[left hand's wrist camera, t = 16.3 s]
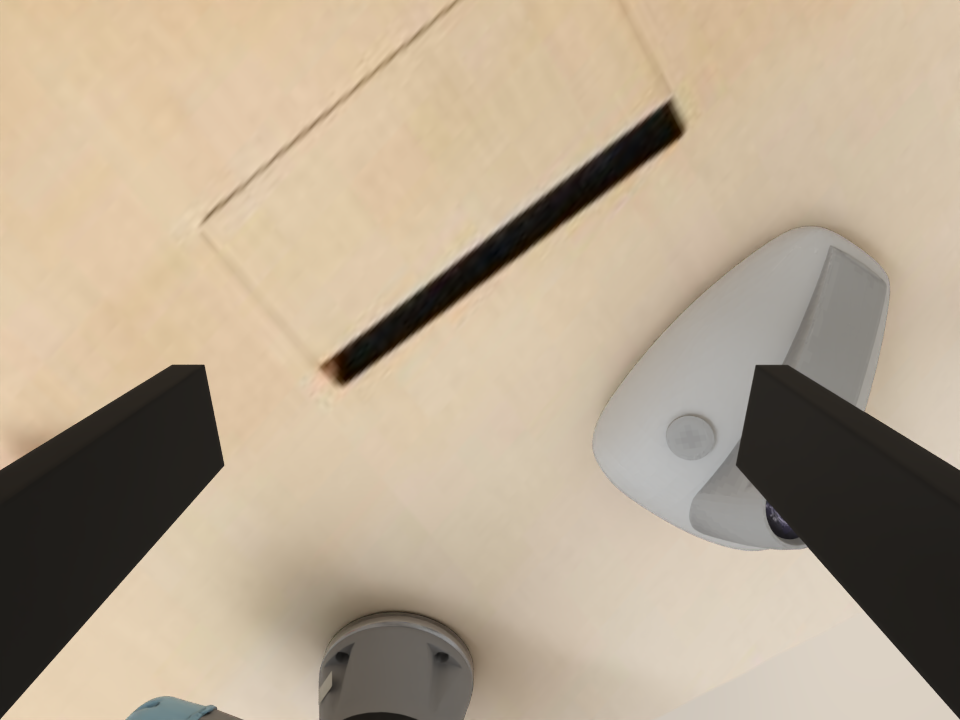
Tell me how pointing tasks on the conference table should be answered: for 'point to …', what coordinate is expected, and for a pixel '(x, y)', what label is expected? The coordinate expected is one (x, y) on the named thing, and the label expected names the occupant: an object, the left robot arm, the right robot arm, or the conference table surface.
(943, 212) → the conference table surface
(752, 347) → the projector
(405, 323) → the conference table surface
